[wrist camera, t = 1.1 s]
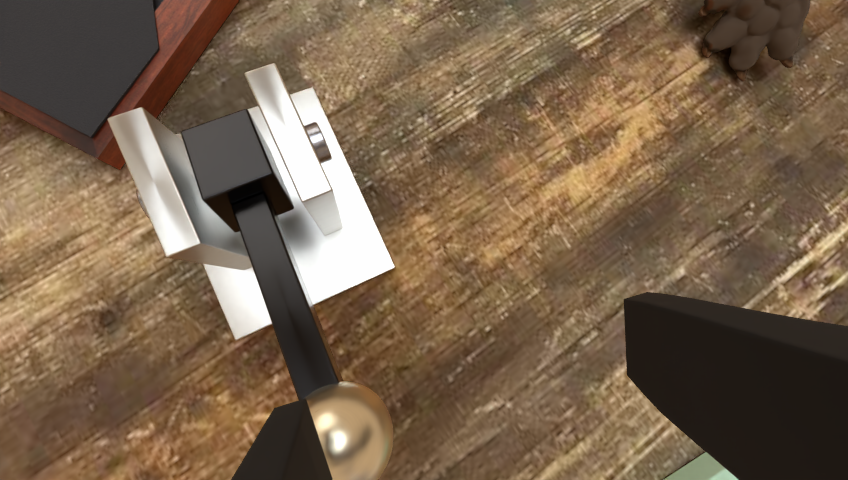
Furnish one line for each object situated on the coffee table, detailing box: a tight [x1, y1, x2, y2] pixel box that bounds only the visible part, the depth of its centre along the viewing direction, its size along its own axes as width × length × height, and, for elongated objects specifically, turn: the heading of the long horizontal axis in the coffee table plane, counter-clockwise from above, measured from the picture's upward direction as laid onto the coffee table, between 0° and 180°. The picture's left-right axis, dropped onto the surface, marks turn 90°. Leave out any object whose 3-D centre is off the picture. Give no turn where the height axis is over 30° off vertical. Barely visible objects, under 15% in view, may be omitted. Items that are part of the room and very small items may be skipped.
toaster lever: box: [181, 109, 394, 480], centre depth 12 cm, size 12×3×3 cm, turn 25°
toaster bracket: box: [108, 63, 395, 340], centre depth 16 cm, size 10×8×9 cm
